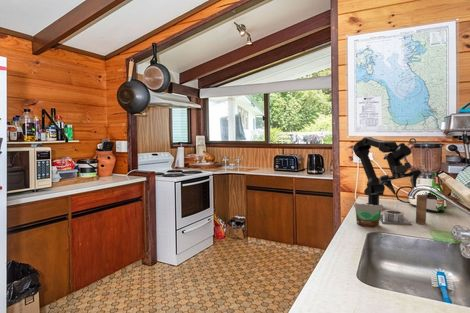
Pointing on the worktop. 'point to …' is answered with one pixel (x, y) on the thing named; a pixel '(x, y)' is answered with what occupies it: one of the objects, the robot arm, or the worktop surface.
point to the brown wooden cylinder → (421, 209)
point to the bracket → (394, 217)
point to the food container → (368, 214)
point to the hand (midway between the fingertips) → (405, 193)
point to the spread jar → (431, 202)
